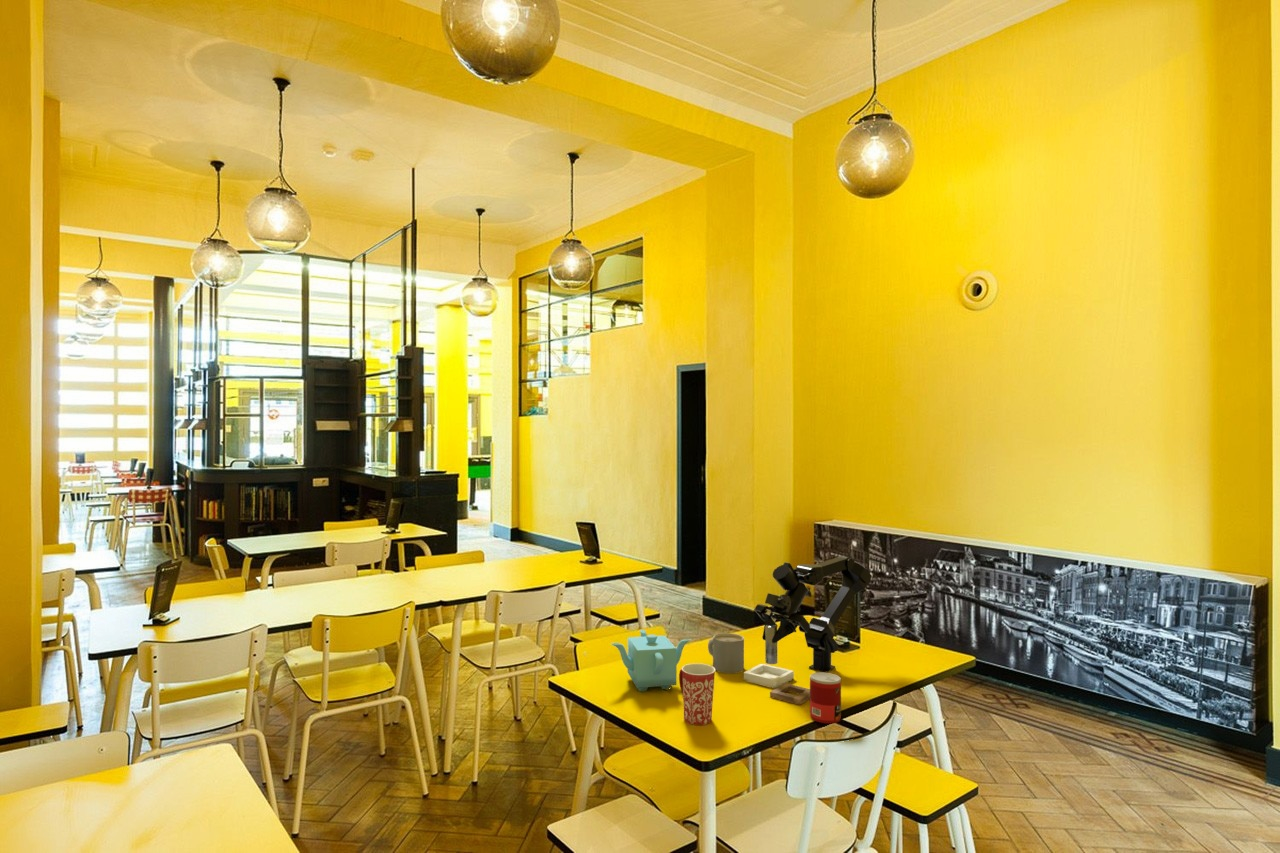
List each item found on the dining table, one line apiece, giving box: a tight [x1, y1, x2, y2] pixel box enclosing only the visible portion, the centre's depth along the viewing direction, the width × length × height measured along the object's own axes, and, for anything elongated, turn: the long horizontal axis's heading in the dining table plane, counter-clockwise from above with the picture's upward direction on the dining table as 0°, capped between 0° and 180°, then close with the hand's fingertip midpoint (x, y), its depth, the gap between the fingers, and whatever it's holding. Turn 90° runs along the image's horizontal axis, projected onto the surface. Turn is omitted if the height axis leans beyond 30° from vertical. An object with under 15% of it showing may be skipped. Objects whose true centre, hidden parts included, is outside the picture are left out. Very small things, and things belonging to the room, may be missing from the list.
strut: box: [764, 625, 778, 665], centre depth 213 cm, size 4×4×11 cm
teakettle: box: [610, 629, 692, 692], centre depth 211 cm, size 19×19×15 cm
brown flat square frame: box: [769, 683, 810, 706], centre depth 202 cm, size 9×9×2 cm
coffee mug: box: [707, 632, 745, 674], centre depth 228 cm, size 13×10×10 cm
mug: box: [678, 662, 717, 726], centre depth 186 cm, size 13×9×14 cm
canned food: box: [809, 671, 842, 725], centre depth 186 cm, size 8×8×11 cm
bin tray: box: [743, 663, 795, 689], centre depth 216 cm, size 11×11×2 cm
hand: (768, 640), depth 213 cm, fingers closed on strut, 4 cm apart
